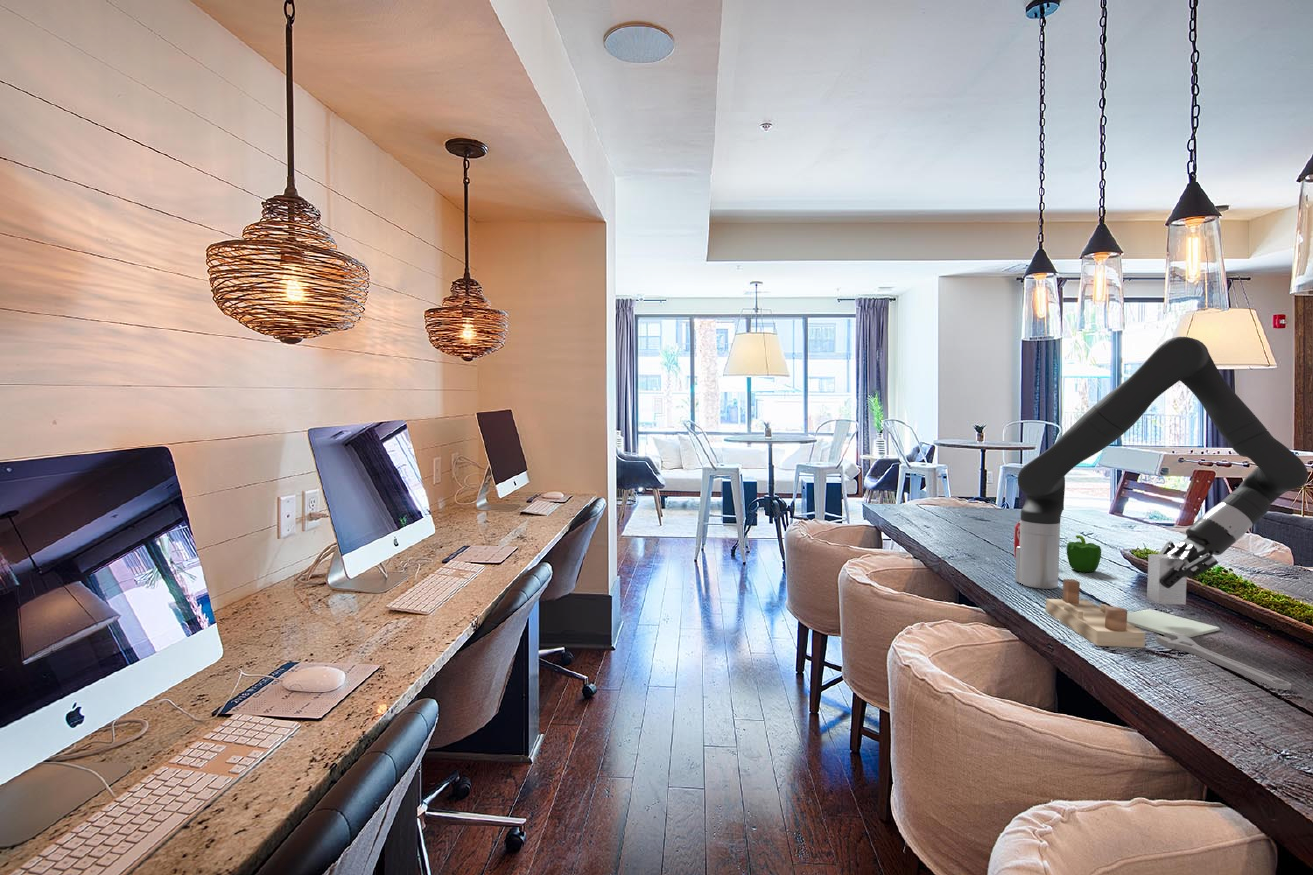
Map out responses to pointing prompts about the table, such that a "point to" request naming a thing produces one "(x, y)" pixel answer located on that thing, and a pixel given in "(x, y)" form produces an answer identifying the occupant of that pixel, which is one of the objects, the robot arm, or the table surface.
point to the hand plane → (1094, 619)
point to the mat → (1168, 623)
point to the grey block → (1156, 571)
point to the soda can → (1017, 537)
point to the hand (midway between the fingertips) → (1157, 582)
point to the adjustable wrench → (1219, 659)
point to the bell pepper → (1083, 555)
